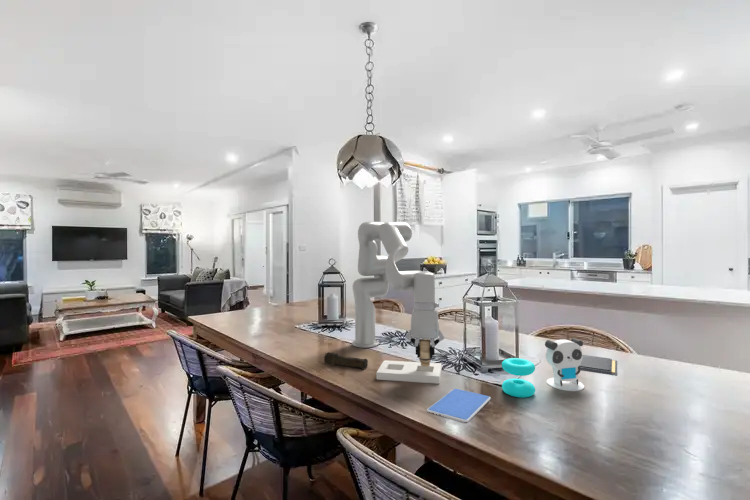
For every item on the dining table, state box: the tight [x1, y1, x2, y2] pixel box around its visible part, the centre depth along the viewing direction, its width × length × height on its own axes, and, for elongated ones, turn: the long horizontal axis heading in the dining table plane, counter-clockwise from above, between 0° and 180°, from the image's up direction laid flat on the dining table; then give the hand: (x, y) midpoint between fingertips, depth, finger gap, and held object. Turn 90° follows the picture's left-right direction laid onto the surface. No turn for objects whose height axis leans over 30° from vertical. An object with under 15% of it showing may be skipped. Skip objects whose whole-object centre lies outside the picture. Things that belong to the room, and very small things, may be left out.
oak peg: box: [418, 338, 432, 367], centre depth 138 cm, size 4×4×9 cm
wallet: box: [578, 354, 618, 377], centre depth 148 cm, size 20×2×15 cm
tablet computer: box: [426, 388, 492, 423], centre depth 113 cm, size 19×13×1 cm, turn 144°
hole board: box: [376, 360, 442, 385], centre depth 139 cm, size 14×22×2 cm, turn 77°
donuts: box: [501, 357, 536, 399], centre depth 122 cm, size 10×10×10 cm
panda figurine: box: [544, 337, 585, 392], centre depth 128 cm, size 12×11×15 cm
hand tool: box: [323, 352, 369, 371], centre depth 151 cm, size 19×4×5 cm, turn 62°
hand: (425, 356), depth 138 cm, fingers closed on oak peg, 4 cm apart
